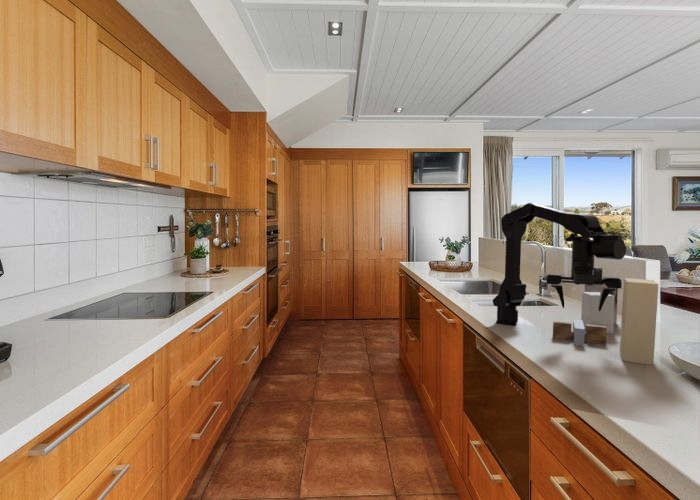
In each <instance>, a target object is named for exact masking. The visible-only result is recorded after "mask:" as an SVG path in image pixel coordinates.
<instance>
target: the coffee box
mask: <svg viewBox="0 0 700 500" xmlns="http://www.w3.org/2000/svg"><path fill="white" fill-rule="evenodd" d="M602 279H603V277H602ZM601 286H603V285H599V284H593V285H586V284H584V292H601ZM615 289H616V291H611V292H610V293H609V294H610V295H613V296H615V300H614V324H617V322H618V320H617V319H618V317H617V315H618V292H619V291H618V289H619V288H615Z"/></svg>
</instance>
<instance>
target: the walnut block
mask: <svg viewBox="0 0 700 500" xmlns="http://www.w3.org/2000/svg"><path fill="white" fill-rule="evenodd" d="M552 323H553V324H552V338H554V339H561V340H569V341H574V331H573V329H572V327H573V323H572V322H570V321H559V320H553V321H552ZM585 342H586V343H594V344H601V345H606V344H607V333H606V326H599V325H589V324H586V330H585V337H584V343H585Z"/></svg>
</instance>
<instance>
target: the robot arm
mask: <svg viewBox="0 0 700 500" xmlns="http://www.w3.org/2000/svg"><path fill="white" fill-rule="evenodd" d="M535 218H538V219H543V220H545V221H548V222H552V223H555V224H557V225H560V226H562V227H563V228H564V229H565V230H567V231H569V232H570V233H571V234H570V235H569V236H567V237H566V238H565V239H564V241H565V242H571V270H570V272H571V273H570V274H571V275H570V276H563V275H562V273H551V272H549V273H547V275H546V282H545V283H546V285H550V287H551V288H555V290H556V292H557V294H558V296H559V297H558V298H559V300H560V303H561V307H562V308H563V309H564V308H565V299H564V296H565V295H564V290H563V283H569V284H574V285H576V286H577V285H585V284H586V285H593V284H599V285H603V286H601V292H600V299H599V305H598V310H599V311H601V309H602V306H603V304H604V302H605V300H606V298H607V296H608V295H609V293H610V292H611V291H616V289H615V288H618V289H620V290H621V289H622V288H623V287H622V286H623V285H622V284H623V282H622V279H621V278H619V276H613V275H611V276H610V275H609V276H608V275H603V267H595V257H596V258H597V259H606V260H622V259H623V258H624V257H625V256H626V253H627V246H626V243H625V241H624V239H623V234H610V235H608V233H606V231H605V230H604V227H602V226H601V224H600V221H599V218H598V216H596V215H593V214H585V213H573V212H572V213H571V212H567V211H564V210H561V209H560V210H559V209H557V208H553V207H549V206H546V205H543V204H540V203H535V202H528V203H525V204H524V205H523V206H521V207H519V208H516V209H514V210H512V211H510V212H509V213H508V212H507V213H505V214H504V215H503V216H501V221H500V222H501V223H500V224H501V231H502V233H503V235H504V237H505V263H504V264H505V265H504V278H503V280H502V282H501V284H500V286H499V291H498V294H497V295H496V296H495V297H494V298H493V299H492V304H493V306H495V307H497V308H496V321H495V323H496V324H499V325H500V324H502V325H508V326H510V325H511V326H516V324H517V323H519V322H518V321H519V310H518V309H517V308H518V307H520V306H521V305H522V302H523V300H524V299H525V297H526V296H527V292H526V291H527V284H526V283H523V282H522V279H521V258H522V257H521V256H522V255H521V254H522V253H521V251H522V238H523V236H524V234H525V232H526V231H527V227H528V224H529V223H531V222H532V221H533V220H534V219H535ZM602 278H603V279H602Z"/></svg>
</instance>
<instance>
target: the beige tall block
mask: <svg viewBox="0 0 700 500" xmlns="http://www.w3.org/2000/svg"><path fill="white" fill-rule="evenodd" d="M622 288H623V292H622V305H621V306H622V308H621V309H622V310H621V323H620V324H621V326H620V342H619V353H620V358H621V360H622V361H623V362H629V363H636V364H642V365H649V366H654V359H655V345H656V344H655V343H656V330H657V329H656V328H657V326H656V325H657V315H658V314H657V312H658V301H659V297H658V296H659V283H658V282H657V281H655V280H654V279H645V278H644V279H643V278H630V277H624V278H623V287H622Z"/></svg>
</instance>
